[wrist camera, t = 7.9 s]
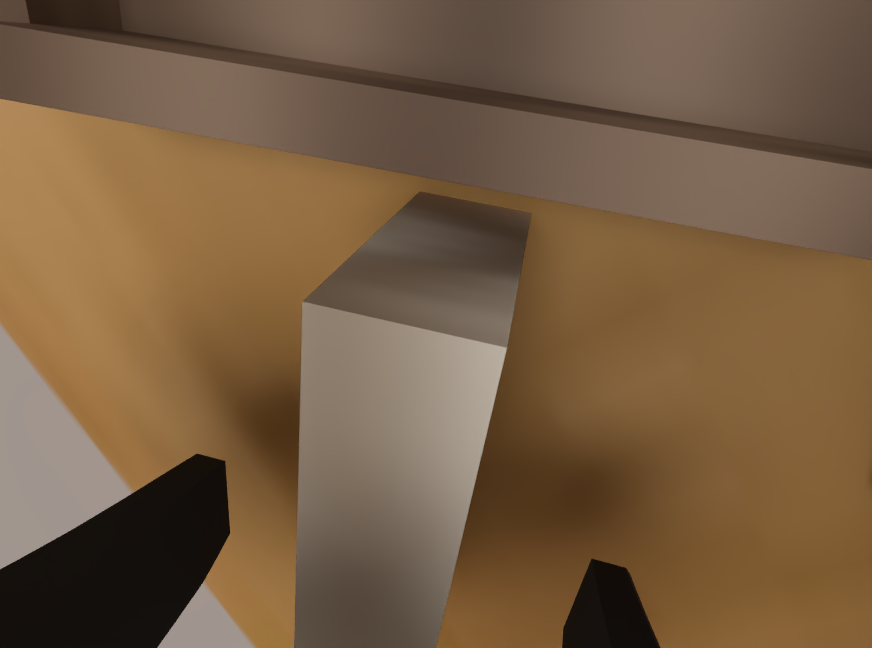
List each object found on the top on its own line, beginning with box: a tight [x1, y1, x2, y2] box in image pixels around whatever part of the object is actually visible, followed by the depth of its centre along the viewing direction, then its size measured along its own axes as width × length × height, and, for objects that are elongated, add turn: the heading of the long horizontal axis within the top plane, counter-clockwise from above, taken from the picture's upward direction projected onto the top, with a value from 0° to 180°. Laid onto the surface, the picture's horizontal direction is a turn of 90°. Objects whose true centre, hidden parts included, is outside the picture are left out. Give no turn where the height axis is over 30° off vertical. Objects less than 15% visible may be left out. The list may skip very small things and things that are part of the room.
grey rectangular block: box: [294, 192, 531, 648], centre depth 11 cm, size 2×11×6 cm, turn 172°
